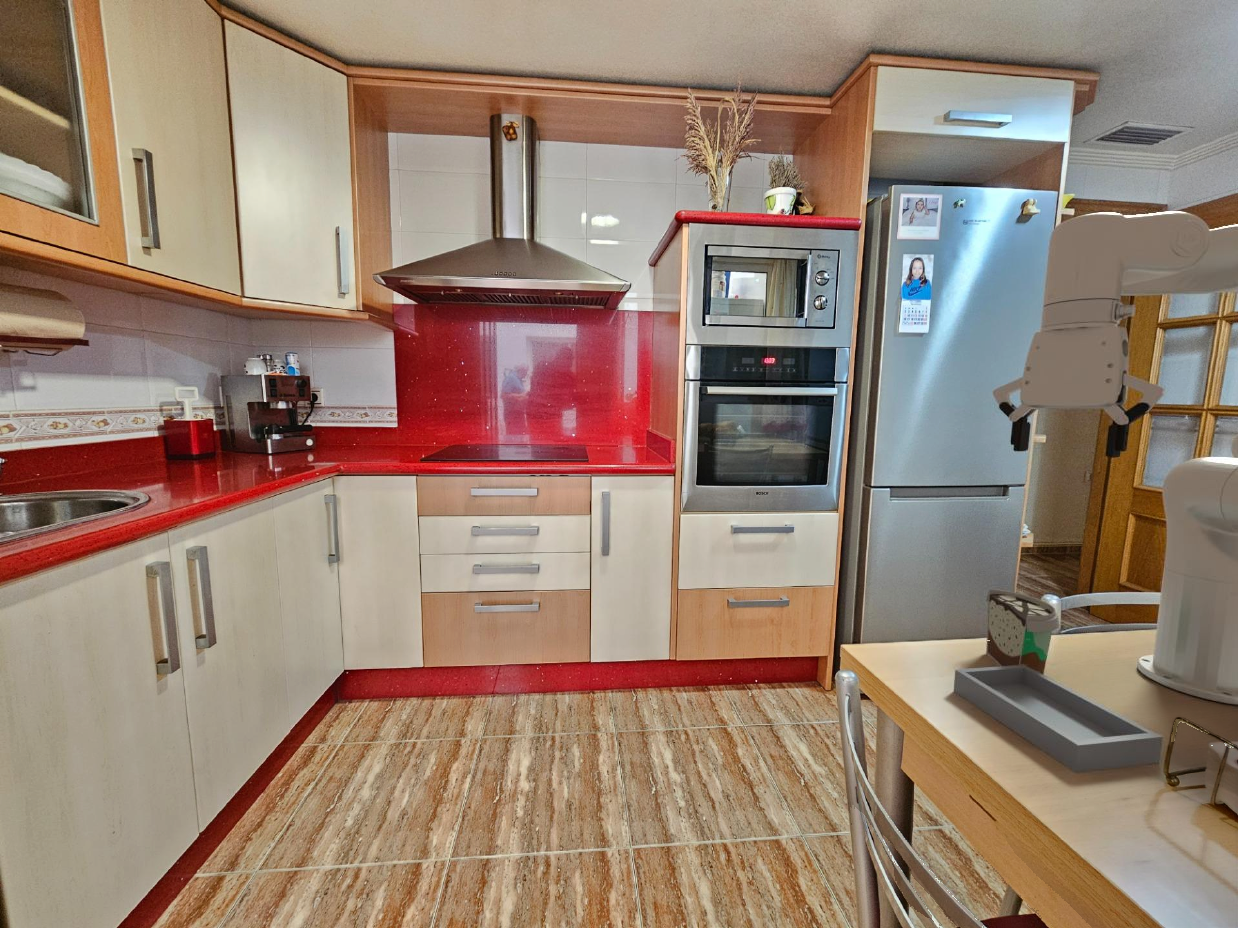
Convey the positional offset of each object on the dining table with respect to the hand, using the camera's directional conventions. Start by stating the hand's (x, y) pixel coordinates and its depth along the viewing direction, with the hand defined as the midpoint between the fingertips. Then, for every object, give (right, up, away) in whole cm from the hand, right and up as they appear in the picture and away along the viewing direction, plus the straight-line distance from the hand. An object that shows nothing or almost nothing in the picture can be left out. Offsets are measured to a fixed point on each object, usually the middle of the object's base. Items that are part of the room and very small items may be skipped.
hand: (1064, 453), depth 71 cm
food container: (+1, -32, +9) cm, 33 cm away
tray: (-6, -33, -5) cm, 34 cm away
